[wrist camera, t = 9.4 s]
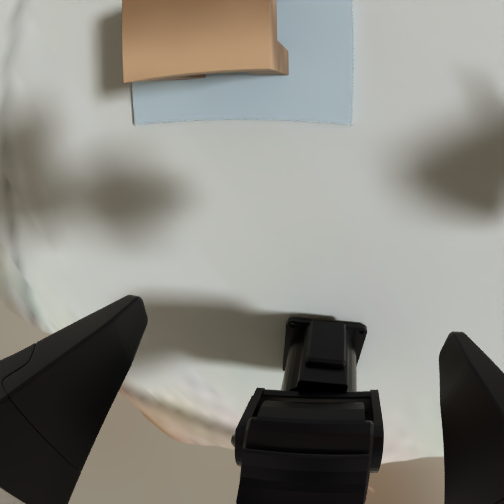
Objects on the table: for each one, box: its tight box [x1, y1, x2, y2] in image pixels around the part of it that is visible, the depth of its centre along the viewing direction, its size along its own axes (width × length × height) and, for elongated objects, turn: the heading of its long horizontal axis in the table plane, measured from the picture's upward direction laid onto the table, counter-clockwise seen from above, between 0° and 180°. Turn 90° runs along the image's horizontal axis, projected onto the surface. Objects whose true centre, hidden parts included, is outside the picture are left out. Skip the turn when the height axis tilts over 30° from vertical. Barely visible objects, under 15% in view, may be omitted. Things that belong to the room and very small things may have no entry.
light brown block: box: [122, 0, 289, 83], centre depth 12 cm, size 6×6×6 cm
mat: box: [132, 0, 353, 125], centre depth 15 cm, size 12×14×1 cm
